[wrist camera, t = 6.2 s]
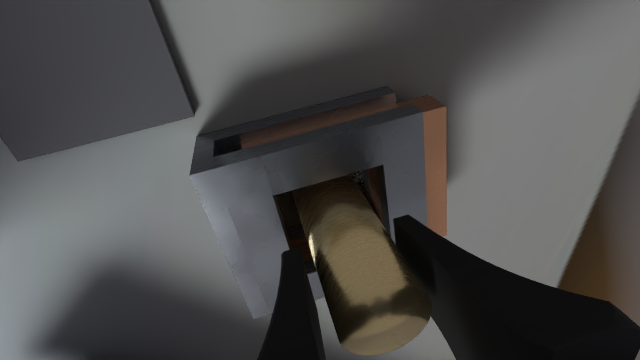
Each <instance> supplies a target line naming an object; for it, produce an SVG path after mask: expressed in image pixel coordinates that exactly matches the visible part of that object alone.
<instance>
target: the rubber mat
mask: <svg viewBox="0 0 640 360" xmlns="http://www.w3.org/2000/svg"><path fill="white" fill-rule="evenodd" d="M194 116H195V112H194V109H193V107H192V104H191V102H190V99H189V97H188V94H187V91H186V89H185V86H184V84H183V81H182V79H181V76H180V74H179V71H178V68H177V66H176V63H175V61H174V58H173V56H172V53H171V51H170V48H169V45H168V43H167V40H166V38H165V35H164V33H163V30H162V28H161V25H160V22H159V20H158V17H157V15H156V12H155V10H154V7H153V5H152V2H151V0H0V137H1V139H2V140H3V141H4V143H5V144H6V145H7V147H8V148H9V150H10V151H11V152H12V154H13V155H14V157H15V158H16V159H17V161H22V160H26V159H30V158H34V157H38V156H42V155H45V154H49V153H53V152H57V151H61V150H65V149H69V148H73V147H77V146H81V145H84V144H88V143H92V142H96V141H100V140H104V139H108V138H112V137H116V136H120V135H124V134H127V133H131V132H135V131H139V130H143V129H147V128H151V127H155V126H159V125H163V124H166V123H170V122H174V121H178V120H182V119H186V118H190V117H194Z"/></svg>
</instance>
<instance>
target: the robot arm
mask: <svg viewBox="0 0 640 360" xmlns="http://www.w3.org/2000/svg"><path fill="white" fill-rule="evenodd" d="M393 223H394V233H395V243H396V246H397V248H398V249H399V251H400V252H401V254H402V256H403V257H404V259H405V260H406V262H407V263H408V265H409V267H410V268H411V270H412V271H413V273H414V274H415V276H416V277H417V279H418V281H419V282H420V284H421V285H422V287H423V288H424V290H425V292H426V293H427V295H428V296H429V298H430V300H431V303H432V312H431V317H432V318H433V320H434V321H435V323H436V324H437V326H438V327H439V329H440V331H441V332H442V334H443V336H444V337H445V339H446V341H447V343H448V345H449V347H450V348H451V350H452V352H453V354H454V356H455V358H456V360H635V358H636V356H637V354H638V351H639V349H640V327H639V326H638V325H637V324H636V323H635V322H633V321H632V320H631V319H630V318H629V317H628V316H627V315H625V314H624V313H623V312H622V311H621V310H619V309H618V308H617V307H615V306H614V305H613V304H612V303H610V302H609V301H604V300H600V299H596V298H592V297H588V296H584V295H579V294H575V293H572V292H568V291H565V290H561V289H558V288H554V287H551V286H548V285H545V284H542V283H539V282H536V281H533V280H530V279H527V278H525V277H522V276H519V275H517V274H514V273H512V272H509V271H507V270H504V269H502V268H500V267H497V266H495V265H493V264H491V263H489V262H486V261H484V260H482V259H480V258H478V257H476V256H474V255H473V254H471V253H469V252H467V251H465V250H463V249H462V248H460V247H458V246H457V245H455V244H453V243H452V242H450V241H448V240H447V239H445V238H443V237H442V236H440V235H439V234H437V233H436V232H434V231H432V230H431V229H429V228H428V227H426V226H425V225H423V224H422V223H421V222H419V221H418V220H416V219H415V218H413V217H412V216H410V215H404V216H401V217H398V218H394V219H393ZM257 360H326V359H325V353H324V347H323V341H322V335H321V329H320V324H319V318H318V312H317V308H316V304H315V300H314V297H313V293H312V289H311V286H310V282H309V279H308V275H307V272H306V268H305V265H304V262H303V258H302V255H301V251H300V248H299V247H297V248H294V249H291V250H287V251H284V252H283V253H282V254H281V273H280V281H279V287H278V292H277V298H276V302H275V306H274V310H273V314H272V318H271V322H270V325H269V328H268V332H267V335H266V338H265V340H264V343H263V346H262V349H261V351H260V354H259V356H258V359H257Z"/></svg>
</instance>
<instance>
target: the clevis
mask: <svg viewBox="0 0 640 360" xmlns="http://www.w3.org/2000/svg"><path fill="white" fill-rule="evenodd" d="M359 171H362V178H363V185H364V192H365V198H366V199H367V201H368V203H369V204H370V206H371V207H372V209H373V210H374V212H375V213H376V215H377V217H378V218H379V220H380V221H381V223H382V224H383V226H384V228H385V229H386V231H387V232H388V234H389V235H390V237H391V238H392V240H393V242H394V243H395V233H394V223H393V219H394V218H398V217H401V216H404V215H410V216H412V217H413V218H415V219H416V220H418V221H419V222H421V223H422V224H423V225H425V226H426V227H428V228H429V229H431V230H432V231H434V232H436V233H437V234H439V235H440V236H446V235H447V162H446V106H445V105H444V104H442V103H440V102H439V101H437V100H435V99H434V98H432V97H430V96H429V95H426V96H422V97H419V98H415V99H411V100H407V101H404V102H400V103H396V93H395V92H394V91H393V90H391V89H390V88H388V87H383V88H379V89H375V90H372V91H368V92H364V93H360V94H356V95H352V96H349V97H345V98H341V99H337V100H333V101H330V102H326V103H322V104H318V105H314V106H310V107H307V108H303V109H299V110H295V111H291V112H288V113H284V114H280V115H276V116H272V117H268V118H265V119H261V120H257V121H253V122H249V123H245V124H242V125H238V126H234V127H230V128H226V129H223V130H219V131H215V132H211V133H207V134H203V135H200V136H197V137H196V142H195V148H194V153H193V159H192V165H191V170H190V178H191V180H192V182H193V184H194V187H195V189H196V191H197V193H198V196H199V198H200V200H201V202H202V205H203V207H204V209H205V211H206V214H207V216H208V218H209V220H210V223H211V225H212V227H213V229H214V232H215V234H216V236H217V239H218V241H219V243H220V245H221V248H222V250H223V252H224V254H225V257H226V259H227V261H228V263H229V266H230V268H231V270H232V272H233V275H234V277H235V279H236V281H237V284H238V286H239V288H240V290H241V293H242V295H243V297H244V300H245V302H246V304H247V306H248V309H249V311H250V313H251V315H252V318H253V319H256V318H259V317H263V316H266V315H269V314H272V313H273V310H274V306H275V302H276V298H277V292H278V287H279V281H280V273H281V254H282V253H283V252H284V251H287V250H291V249H294V248H297V247H299V248H300V251H301V255H302V258H303V262H304V265H305V268H306V272H307V275H308V279H309V282H310V286H311V289H312V293H313V297H314V300H317V299H320V298H323V297H325V295H324V292H323V289H322V286H321V283H320V280H319V277H318V273H317V270H316V267H315V264H314V261H313V258H312V255H311V251H310V248H309V245H308V242H307V239H306V236H305V233H304V229H303V226H302V225H299V226H295V227H292V228H289V229H286V226H285V223H284V219H283V216H282V213H281V209H280V206H279V203H278V199H277V196H276V195H277V194H281V193H285V192H288V191H292V190H295V189H299V188H302V187H306V186H309V185H313V184H316V183H320V182H323V181H327V180H330V179H334V178H337V177H341V176H345V175H348V174H352V173H355V172H359ZM395 245H396V243H395Z"/></svg>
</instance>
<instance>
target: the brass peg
mask: <svg viewBox="0 0 640 360" xmlns="http://www.w3.org/2000/svg"><path fill="white" fill-rule="evenodd" d="M291 192H292V195H293V198H294V201H295V204H296V207H297V211H298V214H299V217H300V220H301V223H302V226H303V229H304V233H305V236H306V239H307V242H308V245H309V248H310V251H311V255H312V258H313V261H314V264H315V267H316V270H317V273H318V277H319V280H320V283H321V286H322V289H323V292H324V295H325V299H326V302H327V305H328V308H329V311H330V314H331V317H332V321H333V324H334V327H335V330H336V333H337V336H338V339H339V342H340V344H341V345H342V346H343V347H344V348H345V349H346V350H348V351H349V352H351V353H354V354H357V355H366V356H370V355H379V354H384V353H387V352H390V351H393V350H395V349H398V348H400V347H402V346H403V345H405V344H407V343H408V342H410V341H411V340H412V339H414V338H415V337H416V336H417V335H418V334H419V333H420V332H421V331H422V330H423V329H424V327H425V326H426V325H427V323H428V321H429V319H430V316H431V312H432V303H431V300H430V298H429V296H428V295H427V293H426V292H425V290H424V288H423V287H422V285H421V284H420V282H419V281H418V279H417V277H416V276H415V274H414V273H413V271H412V270H411V268H410V267H409V265H408V263H407V262H406V260H405V259H404V257H403V256H402V254H401V252H400V251H399V249H398V248H397V246H396V245H395V243H394V242H393V240H392V238H391V237H390V235H389V234H388V232H387V231H386V229H385V228H384V226H383V224H382V223H381V221H380V220H379V218H378V217H377V215H376V213H375V212H374V210H373V209H372V207H371V206H370V204H369V203H368V201H367V199H366V198H365V196H364V195H363V193H362V192H361V190H360V188H359V187H358V185H357V184H356V182H355V181H354V179H353V178H352V176H351V174H348V175H345V176H341V177H337V178H334V179H330V180H327V181H323V182H320V183H316V184H313V185H309V186H306V187H302V188H299V189H295V190H292V191H291Z"/></svg>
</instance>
